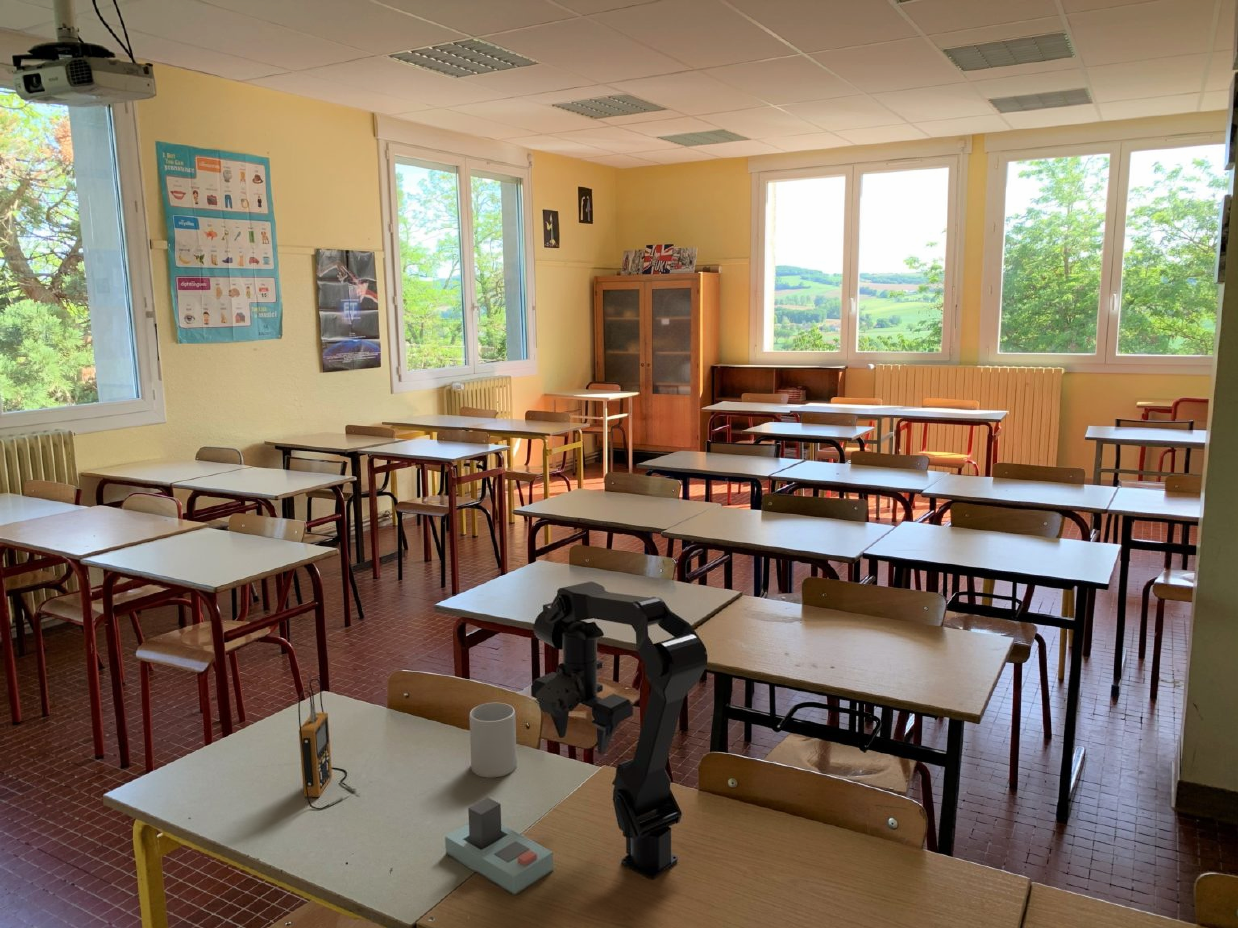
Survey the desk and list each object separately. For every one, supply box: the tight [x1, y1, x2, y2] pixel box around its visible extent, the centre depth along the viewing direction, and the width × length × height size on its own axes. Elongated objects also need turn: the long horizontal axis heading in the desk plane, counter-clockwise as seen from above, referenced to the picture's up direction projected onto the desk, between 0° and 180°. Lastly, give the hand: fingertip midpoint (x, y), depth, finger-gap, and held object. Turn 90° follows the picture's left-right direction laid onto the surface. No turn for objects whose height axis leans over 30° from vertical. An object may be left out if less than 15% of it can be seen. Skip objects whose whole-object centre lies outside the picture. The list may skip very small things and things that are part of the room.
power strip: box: [444, 823, 554, 896], centre depth 141 cm, size 16×8×4 cm, turn 49°
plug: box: [467, 797, 502, 850], centre depth 143 cm, size 4×3×8 cm
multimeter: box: [297, 678, 362, 810], centre depth 162 cm, size 15×10×20 cm
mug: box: [469, 702, 518, 779], centre depth 172 cm, size 12×8×11 cm
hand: (581, 745), depth 154 cm, fingers open, 9 cm apart
